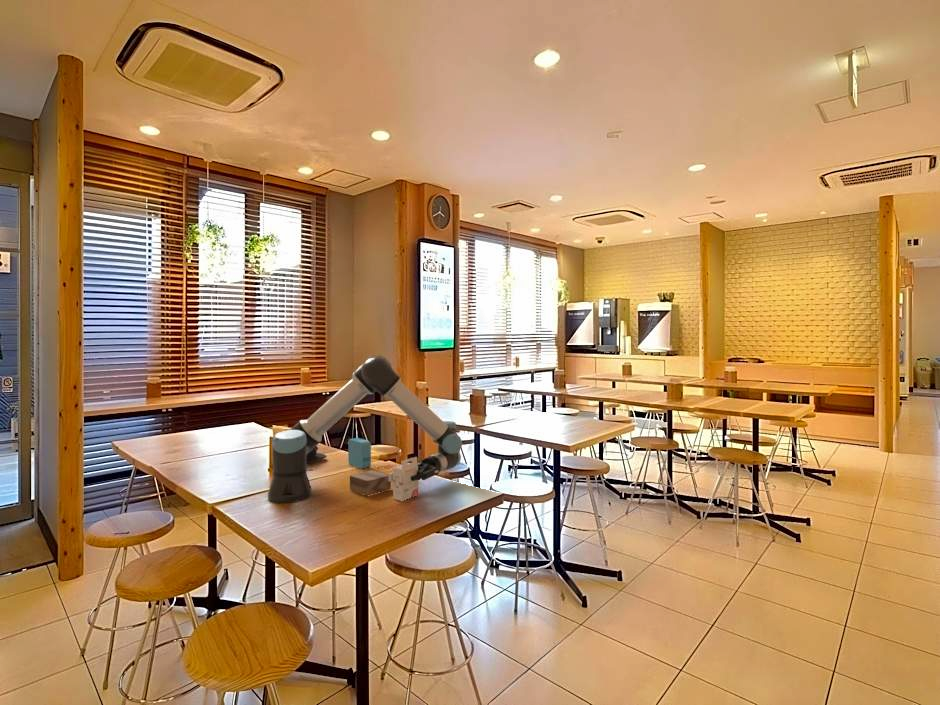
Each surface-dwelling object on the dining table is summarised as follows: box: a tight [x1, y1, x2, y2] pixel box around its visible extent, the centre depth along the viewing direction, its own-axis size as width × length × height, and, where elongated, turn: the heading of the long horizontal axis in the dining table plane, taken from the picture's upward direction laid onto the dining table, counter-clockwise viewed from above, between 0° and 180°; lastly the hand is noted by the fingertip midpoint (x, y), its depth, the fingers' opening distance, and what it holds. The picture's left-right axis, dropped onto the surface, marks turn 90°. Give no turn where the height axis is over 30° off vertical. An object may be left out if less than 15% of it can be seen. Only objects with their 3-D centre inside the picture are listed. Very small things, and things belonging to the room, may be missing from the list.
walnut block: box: [349, 469, 392, 497], centre depth 191 cm, size 11×11×6 cm
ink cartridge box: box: [392, 456, 419, 502], centre depth 182 cm, size 9×5×15 cm, turn 143°
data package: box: [347, 437, 372, 470], centre depth 226 cm, size 12×4×12 cm, turn 44°
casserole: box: [306, 445, 327, 465], centre depth 232 cm, size 25×19×8 cm
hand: (396, 479), depth 178 cm, fingers open, 6 cm apart
